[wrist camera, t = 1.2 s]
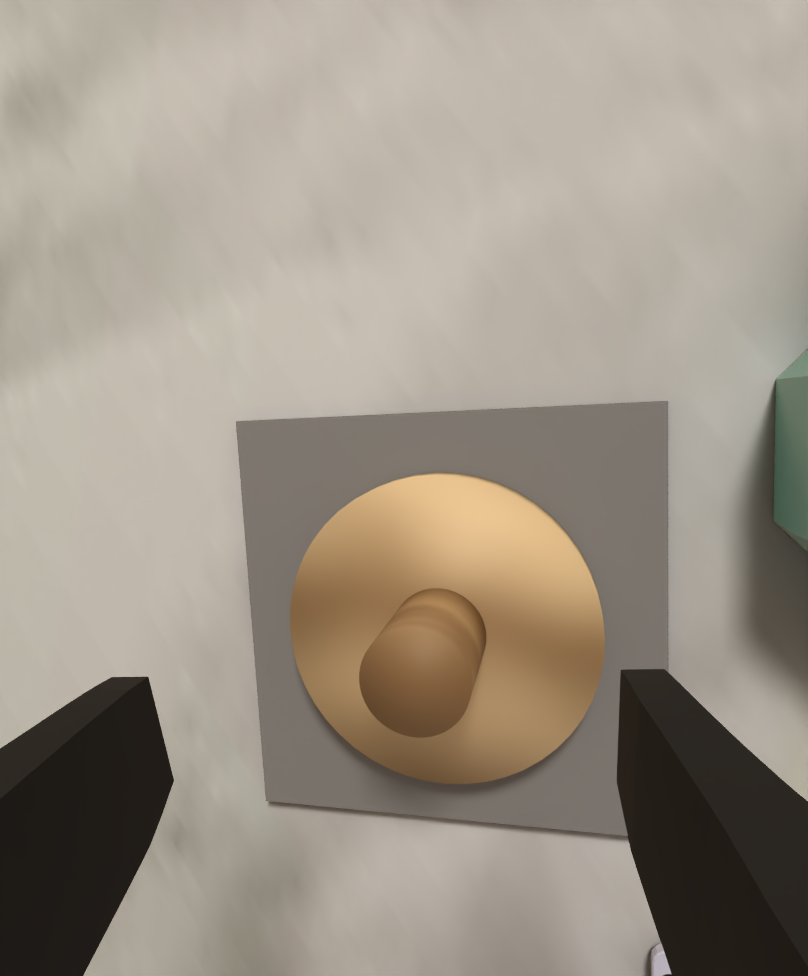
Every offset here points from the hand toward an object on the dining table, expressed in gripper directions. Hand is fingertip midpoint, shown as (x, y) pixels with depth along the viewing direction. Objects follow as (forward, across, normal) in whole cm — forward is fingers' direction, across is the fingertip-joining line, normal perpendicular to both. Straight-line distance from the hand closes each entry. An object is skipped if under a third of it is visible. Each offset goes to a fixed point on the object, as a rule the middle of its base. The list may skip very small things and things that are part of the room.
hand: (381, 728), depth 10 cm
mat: (+10, 0, +4) cm, 11 cm away
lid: (+10, 0, +4) cm, 11 cm away
